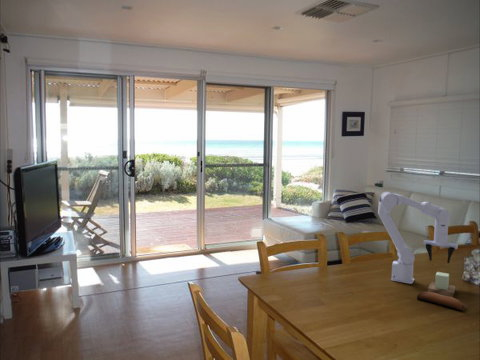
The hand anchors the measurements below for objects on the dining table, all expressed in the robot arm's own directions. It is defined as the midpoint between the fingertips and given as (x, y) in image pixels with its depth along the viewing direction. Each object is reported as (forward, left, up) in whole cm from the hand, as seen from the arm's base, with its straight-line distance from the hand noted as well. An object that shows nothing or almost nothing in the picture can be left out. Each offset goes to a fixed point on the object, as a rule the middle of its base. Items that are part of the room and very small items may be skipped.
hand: (439, 261), depth 196 cm
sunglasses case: (+5, -27, -11) cm, 29 cm away
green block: (+3, -12, -8) cm, 15 cm away
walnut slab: (+3, -12, -10) cm, 16 cm away
